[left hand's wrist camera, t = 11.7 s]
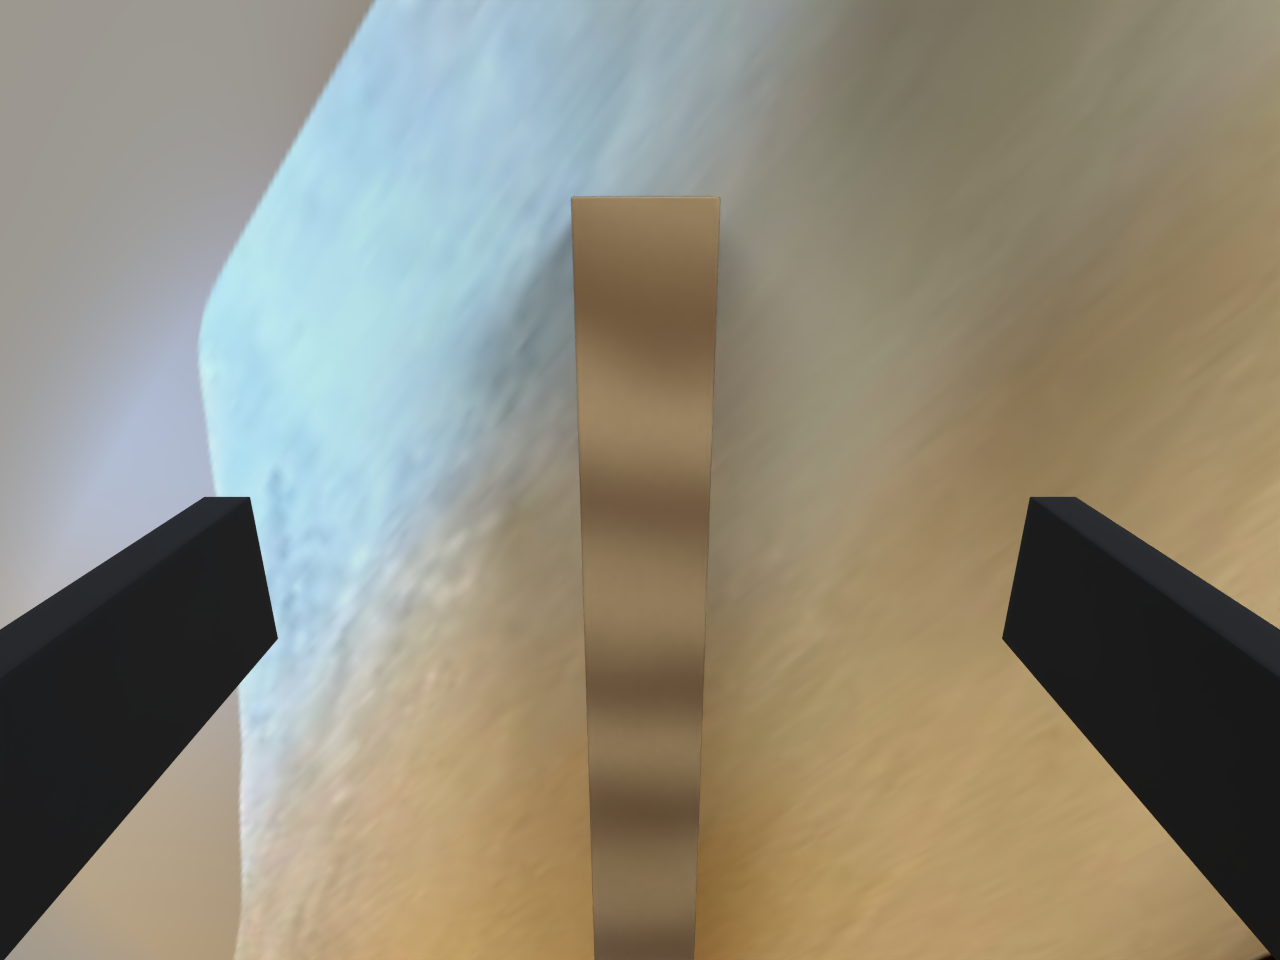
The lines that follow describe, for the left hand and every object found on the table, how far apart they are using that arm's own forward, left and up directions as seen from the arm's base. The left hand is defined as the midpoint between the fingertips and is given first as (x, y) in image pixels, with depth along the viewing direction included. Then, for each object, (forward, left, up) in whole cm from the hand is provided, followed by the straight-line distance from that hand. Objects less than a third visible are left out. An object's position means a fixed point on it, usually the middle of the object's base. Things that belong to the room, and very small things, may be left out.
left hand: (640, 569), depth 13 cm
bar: (+23, +17, -22) cm, 36 cm away
